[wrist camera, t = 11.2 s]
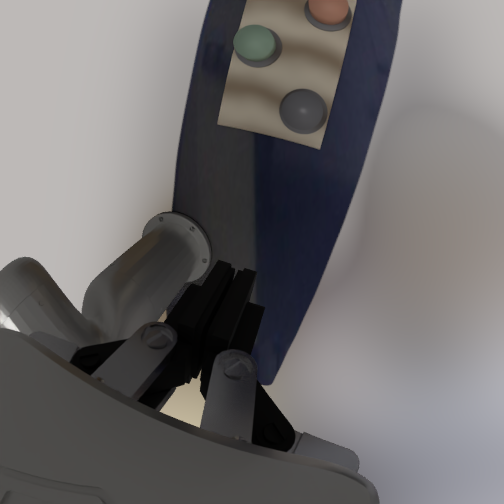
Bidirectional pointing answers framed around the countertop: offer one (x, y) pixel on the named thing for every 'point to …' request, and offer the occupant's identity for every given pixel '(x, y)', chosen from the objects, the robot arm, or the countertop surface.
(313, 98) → the charcoal button
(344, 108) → the countertop surface
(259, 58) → the green button
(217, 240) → the countertop surface
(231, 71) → the button panel
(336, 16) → the terracotta button
